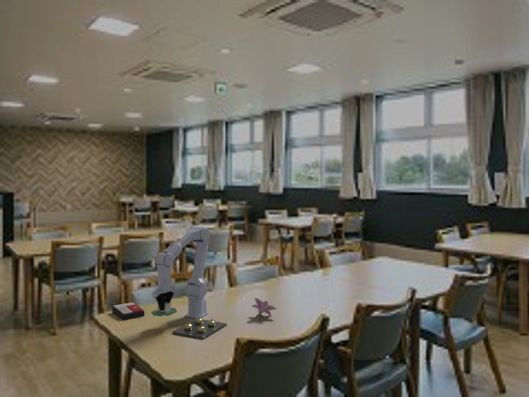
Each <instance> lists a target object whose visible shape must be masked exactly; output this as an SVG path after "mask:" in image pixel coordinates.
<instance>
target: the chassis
mask: <svg viewBox="0 0 529 397" xmlns="http://www.w3.org/2000/svg"><path fill="white" fill-rule="evenodd" d="M227 325H228V324H227V322H221V321H216V320H215V319H213V318H211V319H210V320H209V319H203V318H202V317H199V318H194V320H192V321H190V322H189V321H188V322H187V323H185V324H184V325H182V326H180V327H179V328H176V329H174V330H172V332H171V334H172V335H177V336H184V337H187V338H193V339H198V340H205V339H207V338H209V337H211V336H212V335H214V334H216V332H218V331H220V330H222V329H223V328H225V327H227Z"/></svg>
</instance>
